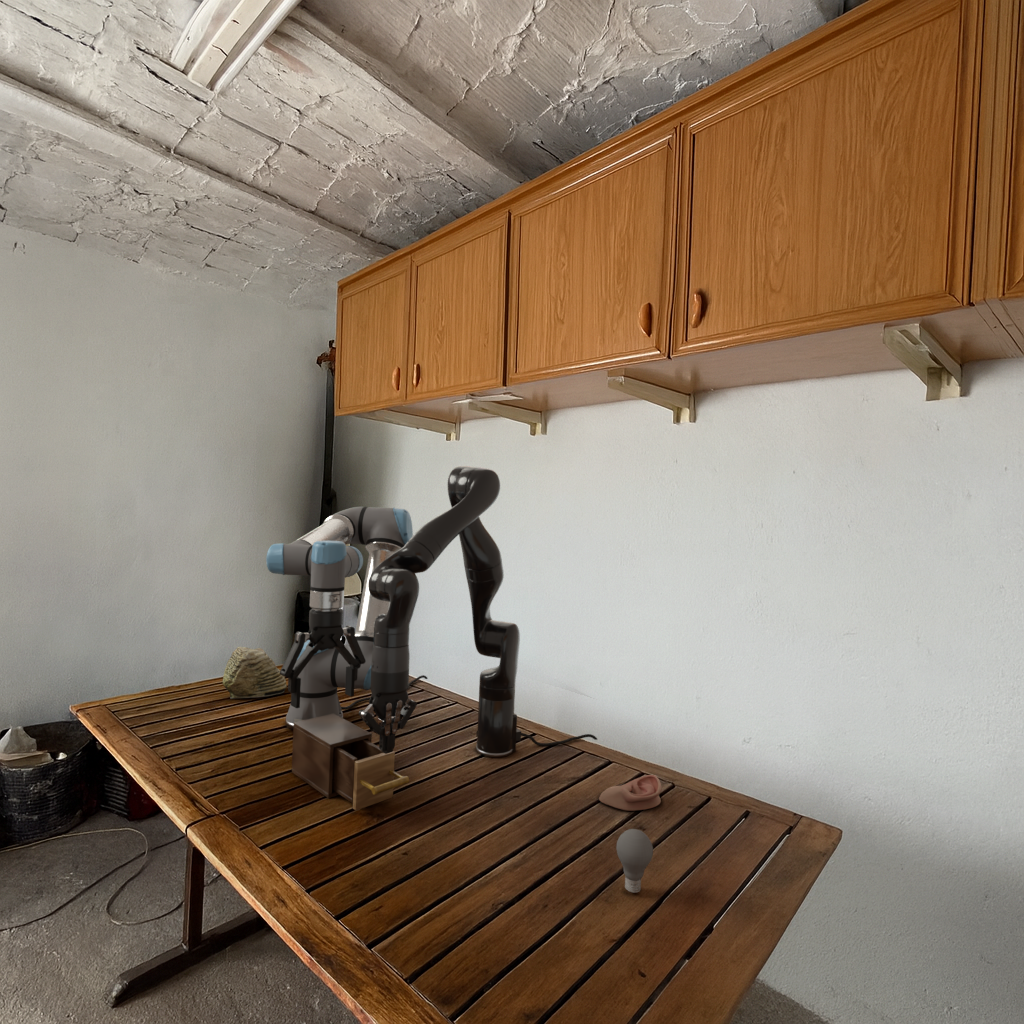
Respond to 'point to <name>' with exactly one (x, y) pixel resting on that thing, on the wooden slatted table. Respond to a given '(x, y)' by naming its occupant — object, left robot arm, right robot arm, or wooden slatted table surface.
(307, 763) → the cabinet
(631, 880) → the light bulb
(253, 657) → the fossil
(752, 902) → the wooden slatted table surface
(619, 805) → the anatomical model
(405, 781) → the drawer
